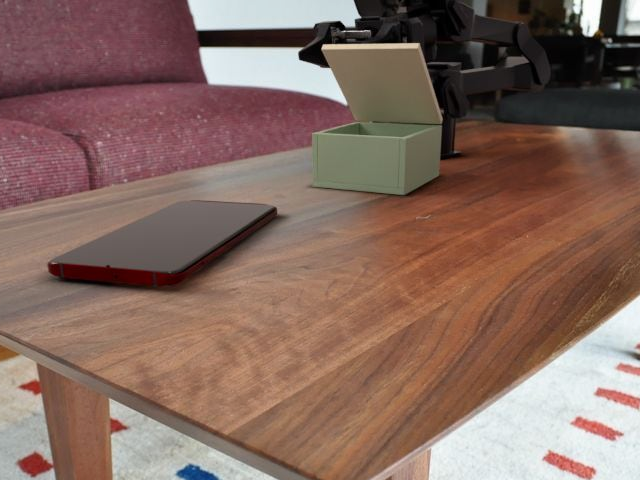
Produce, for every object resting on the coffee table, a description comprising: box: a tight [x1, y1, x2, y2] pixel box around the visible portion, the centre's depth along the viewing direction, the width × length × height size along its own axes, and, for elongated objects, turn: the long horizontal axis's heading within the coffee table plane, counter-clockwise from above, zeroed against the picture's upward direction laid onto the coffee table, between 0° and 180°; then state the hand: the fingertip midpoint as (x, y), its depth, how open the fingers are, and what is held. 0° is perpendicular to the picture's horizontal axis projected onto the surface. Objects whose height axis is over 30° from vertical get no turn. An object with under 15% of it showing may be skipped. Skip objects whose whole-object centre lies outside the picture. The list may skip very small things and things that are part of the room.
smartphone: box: [46, 199, 278, 287], centre depth 63 cm, size 12×2×25 cm
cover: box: [321, 43, 443, 124], centre depth 86 cm, size 14×13×1 cm
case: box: [311, 121, 442, 196], centre depth 88 cm, size 14×13×7 cm
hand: (321, 56), depth 88 cm, fingers open, 9 cm apart
